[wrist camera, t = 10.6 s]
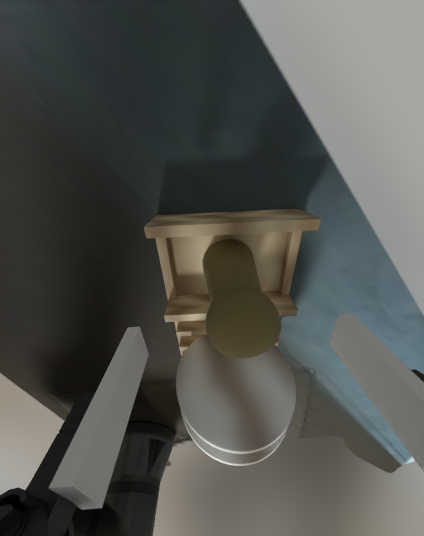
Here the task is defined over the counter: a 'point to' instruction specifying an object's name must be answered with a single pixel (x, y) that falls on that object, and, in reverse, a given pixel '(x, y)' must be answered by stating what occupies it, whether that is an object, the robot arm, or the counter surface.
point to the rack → (200, 347)
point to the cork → (238, 302)
